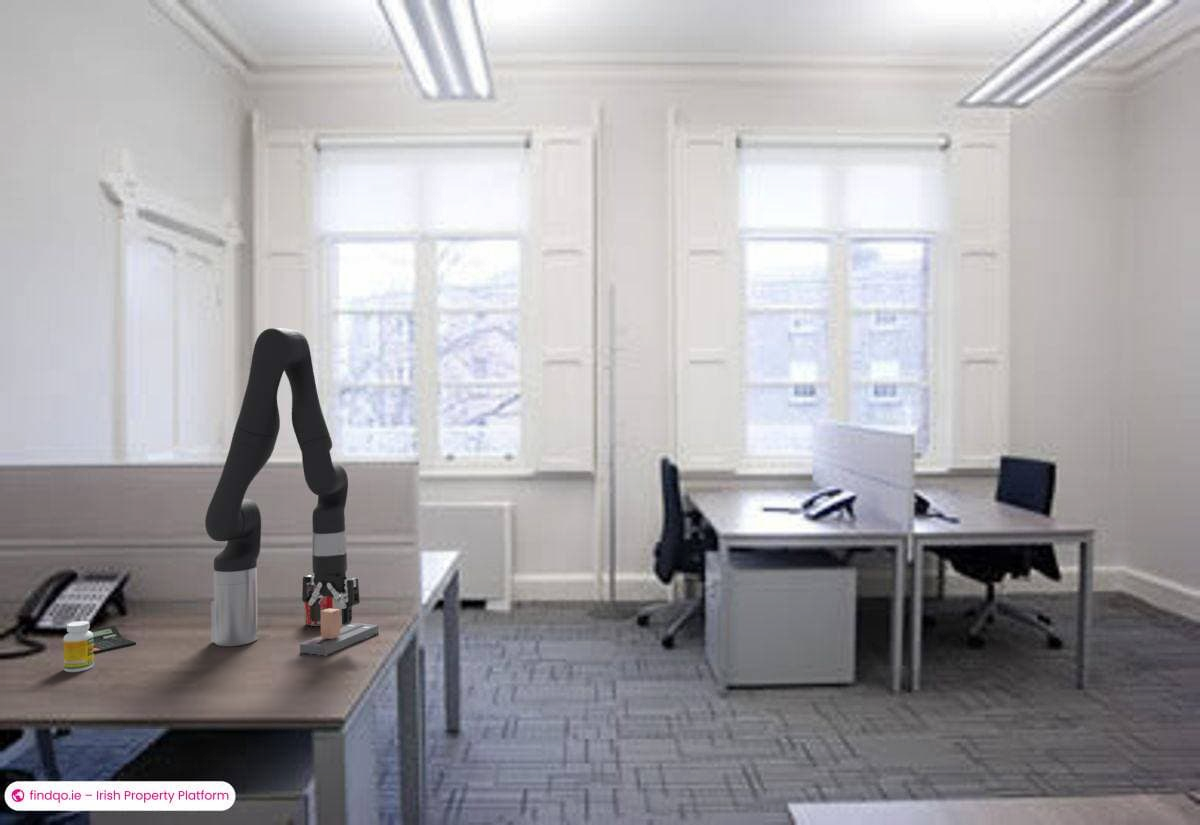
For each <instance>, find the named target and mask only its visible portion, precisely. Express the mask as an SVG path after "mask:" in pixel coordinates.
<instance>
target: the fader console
mask: <svg viewBox="0 0 1200 825" xmlns="http://www.w3.org/2000/svg"><path fill="white" fill-rule="evenodd" d="M377 633H380V632H379V625H378V624H372V623H371V624H370V623H361V622H352V623H350V624H347V625H344V626H342V627H340V636H338V637H335V638H333V639H328V638H321V635H320V636H317V637H314V638H312V639H309V640H307V641H304V642H301V643H299V653H300V654H304V653H310V654H309V655H312V654H319V655H318V656H320V655H327V656H329V655H328V654H330V653H332V654H334V653H336V652H335V651H337V650H339V649H341V650H343V649H342V648H344V647H346V646H348V647H350V646H349V645H351V644H353V643H355V642H358V641H360V640H362V641H364V640H363V639H365V638H367V637H369V636H372V635H374V634H376V635H378V634H377ZM374 636H375V635H374ZM372 637H373V636H372ZM369 638H370V637H369ZM367 639H368V638H367ZM365 640H366V639H365ZM360 642H361V641H360ZM358 643H359V642H358ZM355 644H356V643H355ZM353 645H354V644H353ZM351 646H352V645H351ZM346 648H347V647H346ZM344 649H345V648H344ZM339 651H340V650H339ZM333 652H334V653H333ZM337 652H338V651H337ZM330 655H331V654H330Z"/></svg>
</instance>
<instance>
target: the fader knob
mask: <svg viewBox="0 0 1200 825" xmlns="http://www.w3.org/2000/svg"><path fill="white" fill-rule="evenodd" d="M340 628H341V609H339V608H334V609H332V608H329V609H324V610H323V611H321V626H320V636H321V638H328V639H333V638H335V637H338V636H340Z"/></svg>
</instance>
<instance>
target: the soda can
mask: <svg viewBox="0 0 1200 825" xmlns="http://www.w3.org/2000/svg"><path fill="white" fill-rule="evenodd" d="M313 575H314V576H315V574H313ZM315 589H316V586H315V584H314V590H315ZM334 599H335V597H329V596H325V597H323V598H322V599H321V601H320V603H319V604H320V608H321V611H323V610H324V609H329V608H332V609H335V607H334V606H335V605H334V601H335V600H334ZM310 613H311V612H310V605H309V603H307V602H303V616H304V622H305V624H306V625H308V626H309V625H311V626H310V627H312V626H320V627H321V619H320V620H319V621H317V622H312V619H311V617H310Z"/></svg>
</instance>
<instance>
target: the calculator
mask: <svg viewBox="0 0 1200 825" xmlns="http://www.w3.org/2000/svg"><path fill="white" fill-rule="evenodd" d="M88 631H91V632H92V633H93V655H97V654H101V653H104V652H109V651H114V650H117V649H118V650H119V649H124V648H127V647H133V646H135V645H137V641H133V640H131V639H128V638H126V637H123V636H122V635H121V633H120V632H119V630H118V629H117V627H116V626H115V624H114V625H109V626H105V627H99V628H96V629H88Z"/></svg>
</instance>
